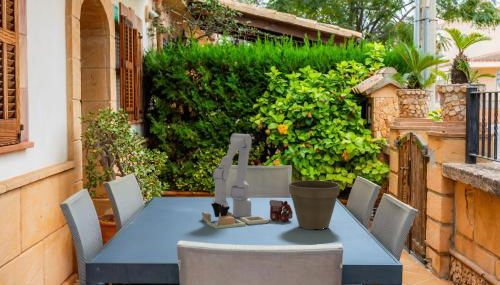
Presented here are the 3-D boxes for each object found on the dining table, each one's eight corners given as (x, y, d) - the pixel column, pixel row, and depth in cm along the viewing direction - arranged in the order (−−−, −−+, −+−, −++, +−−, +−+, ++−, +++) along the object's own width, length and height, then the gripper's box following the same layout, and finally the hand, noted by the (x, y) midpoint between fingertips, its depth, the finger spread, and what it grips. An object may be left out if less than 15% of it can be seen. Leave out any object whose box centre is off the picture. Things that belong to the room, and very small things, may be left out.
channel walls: (224, 217, 293) (225, 210, 292) (231, 220, 285) (231, 213, 285) (202, 219, 287) (202, 212, 286) (208, 222, 280) (208, 215, 279)
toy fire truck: (289, 222, 284) (290, 202, 283) (267, 220, 289) (267, 200, 288) (293, 220, 291) (294, 200, 290) (271, 217, 295) (272, 198, 294)
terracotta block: (229, 223, 279) (229, 215, 279) (234, 225, 274) (234, 217, 274) (218, 224, 277) (218, 216, 276) (223, 226, 271) (223, 218, 271)
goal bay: (235, 221, 284) (235, 219, 284) (245, 225, 275) (245, 223, 275) (206, 223, 277) (206, 221, 277) (215, 228, 267) (215, 226, 267)
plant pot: (305, 235, 258) (306, 188, 257) (278, 224, 280) (279, 181, 279) (348, 230, 270) (350, 185, 268) (319, 220, 292) (321, 179, 290)
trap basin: (259, 219, 291) (259, 215, 290) (268, 223, 282) (268, 219, 282) (240, 220, 286) (240, 217, 285) (249, 224, 277) (249, 221, 277)
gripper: (207, 190, 286) (207, 216, 287) (219, 194, 273) (218, 222, 274) (220, 189, 289) (219, 215, 290) (232, 193, 276) (231, 220, 277)
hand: (220, 218), depth 282 cm, fingers open, 7 cm apart
